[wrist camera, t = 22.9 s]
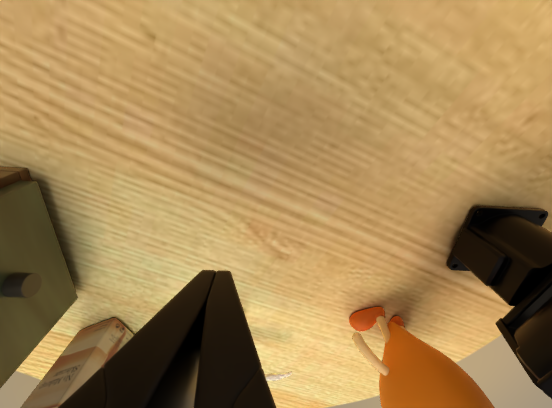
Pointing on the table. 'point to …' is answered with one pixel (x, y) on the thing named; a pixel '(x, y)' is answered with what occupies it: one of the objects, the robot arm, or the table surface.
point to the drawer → (28, 275)
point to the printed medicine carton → (79, 363)
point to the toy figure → (414, 368)
